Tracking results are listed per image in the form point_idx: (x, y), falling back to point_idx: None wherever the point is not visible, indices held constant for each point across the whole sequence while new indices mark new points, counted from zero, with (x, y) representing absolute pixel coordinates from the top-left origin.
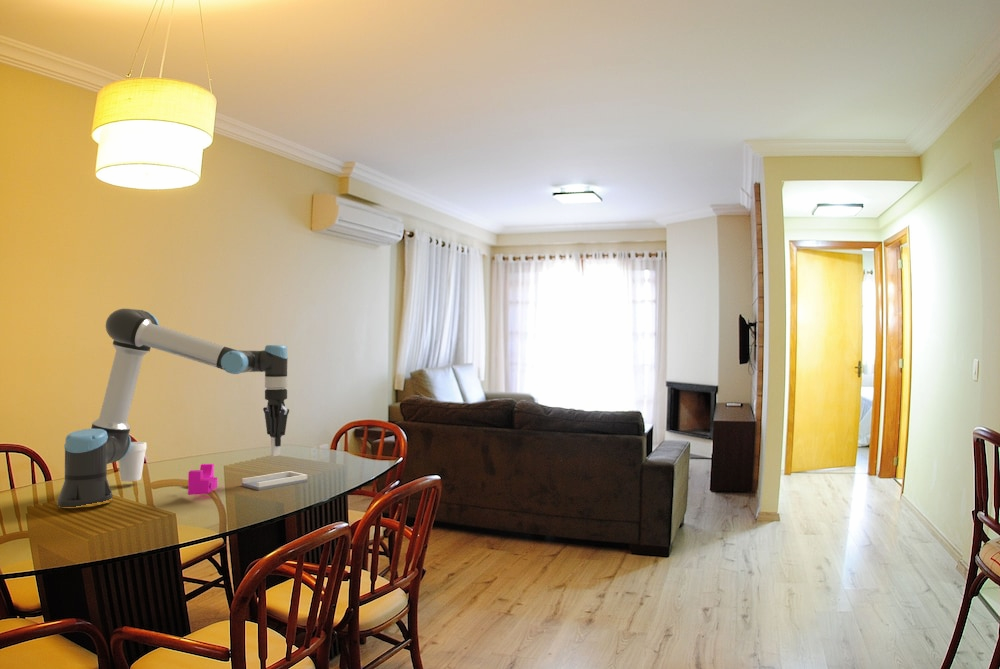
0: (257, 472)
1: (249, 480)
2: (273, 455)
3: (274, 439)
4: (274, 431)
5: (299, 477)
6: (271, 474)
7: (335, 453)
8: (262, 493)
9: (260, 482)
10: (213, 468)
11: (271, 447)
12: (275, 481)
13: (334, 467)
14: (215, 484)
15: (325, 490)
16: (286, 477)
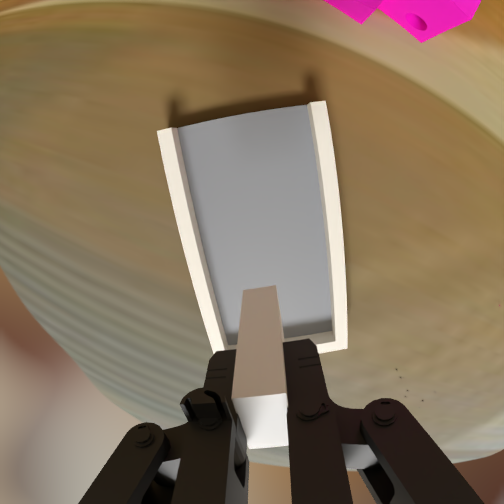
0: (501, 275)
1: (313, 136)
2: (244, 291)
3: (235, 388)
4: (216, 465)
5: (209, 332)
6: (332, 261)
7: (481, 457)
8: (104, 128)
9: (161, 139)
10: (456, 24)
11: (276, 321)
12: (178, 218)
13: None
14: (342, 3)
15: (60, 320)
16: (306, 311)
